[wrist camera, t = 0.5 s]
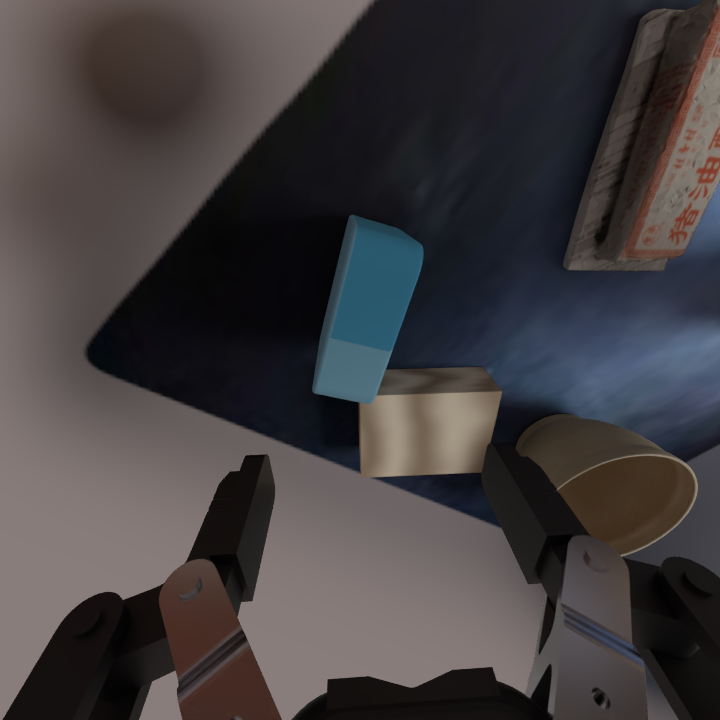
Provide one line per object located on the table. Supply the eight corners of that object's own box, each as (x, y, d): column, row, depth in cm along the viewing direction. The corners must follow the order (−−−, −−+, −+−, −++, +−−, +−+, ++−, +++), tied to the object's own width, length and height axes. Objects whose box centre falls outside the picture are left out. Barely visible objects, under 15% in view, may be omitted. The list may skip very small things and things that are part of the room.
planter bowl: (606, 473, 45) (677, 549, 35) (490, 494, 46) (529, 574, 36) (625, 376, 38) (722, 440, 28) (487, 404, 39) (535, 475, 29)
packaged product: (699, -24, 19) (852, -13, 20) (633, 15, 23) (761, 24, 24) (589, 279, 28) (699, 281, 28) (556, 267, 32) (652, 269, 32)
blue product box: (362, 344, 34) (370, 413, 24) (320, 335, 34) (309, 401, 23) (398, 227, 29) (429, 248, 18) (349, 212, 28) (353, 226, 18)
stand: (482, 366, 36) (502, 391, 32) (468, 442, 41) (483, 472, 37) (358, 370, 36) (360, 396, 31) (359, 446, 41) (361, 477, 36)
